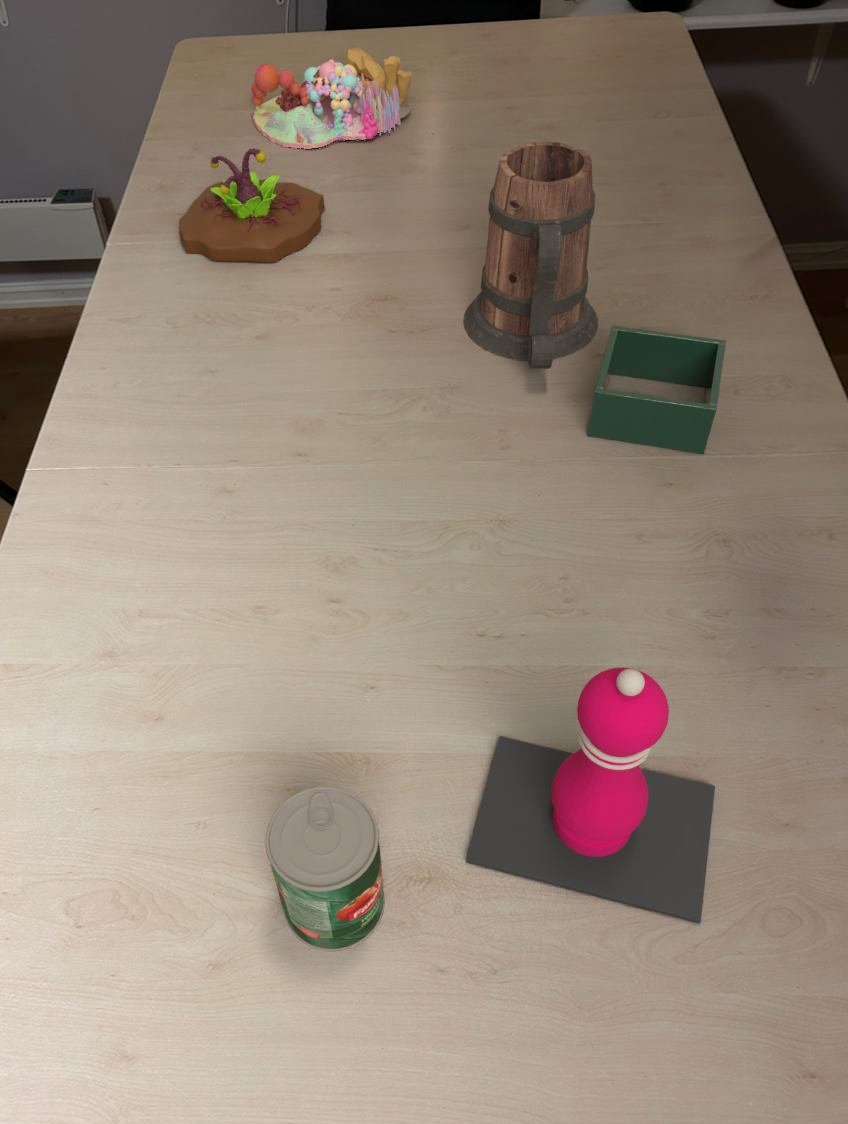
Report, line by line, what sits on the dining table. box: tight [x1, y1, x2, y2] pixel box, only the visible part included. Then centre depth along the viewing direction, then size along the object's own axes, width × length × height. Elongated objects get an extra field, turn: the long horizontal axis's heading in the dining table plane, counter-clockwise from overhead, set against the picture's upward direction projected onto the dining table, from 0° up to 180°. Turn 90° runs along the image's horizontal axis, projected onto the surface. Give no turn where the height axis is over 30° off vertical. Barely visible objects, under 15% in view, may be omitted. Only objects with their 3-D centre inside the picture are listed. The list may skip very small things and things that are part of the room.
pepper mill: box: [551, 667, 670, 857], centre depth 70 cm, size 7×7×20 cm
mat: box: [465, 735, 716, 924], centre depth 78 cm, size 18×12×1 cm, turn 73°
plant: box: [178, 147, 326, 264], centre depth 135 cm, size 20×20×11 cm
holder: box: [587, 325, 727, 455], centre depth 108 cm, size 13×13×6 cm
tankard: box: [463, 141, 599, 370], centre depth 112 cm, size 24×17×20 cm
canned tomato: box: [264, 785, 386, 952], centre depth 71 cm, size 8×8×11 cm
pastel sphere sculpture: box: [250, 46, 413, 150], centre depth 157 cm, size 25×24×9 cm
